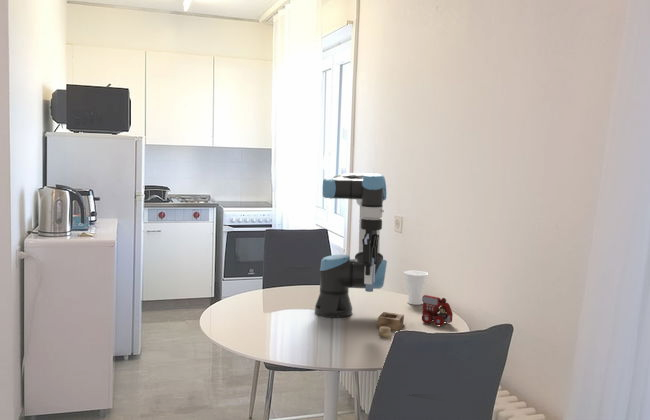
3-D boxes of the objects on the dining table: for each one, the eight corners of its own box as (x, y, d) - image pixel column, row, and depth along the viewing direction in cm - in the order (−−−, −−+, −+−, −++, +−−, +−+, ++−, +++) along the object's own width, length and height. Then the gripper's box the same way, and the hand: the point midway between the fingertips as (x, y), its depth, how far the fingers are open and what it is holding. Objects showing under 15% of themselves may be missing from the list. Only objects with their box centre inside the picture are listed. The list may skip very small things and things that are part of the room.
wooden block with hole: (377, 327, 212) (377, 317, 212) (383, 322, 220) (383, 312, 219) (398, 330, 210) (398, 320, 209) (403, 324, 217) (403, 314, 217)
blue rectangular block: (364, 291, 205) (365, 258, 204) (366, 289, 208) (367, 257, 207) (371, 292, 204) (373, 259, 203) (373, 290, 207) (375, 257, 206)
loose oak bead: (377, 337, 202) (378, 328, 202) (380, 333, 206) (381, 325, 205) (388, 338, 201) (389, 330, 200) (391, 335, 204) (391, 327, 204)
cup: (430, 302, 251) (432, 272, 250) (421, 307, 242) (422, 276, 241) (408, 298, 257) (410, 269, 255) (398, 303, 248) (400, 273, 247)
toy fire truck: (447, 328, 214) (448, 301, 213) (417, 322, 221) (418, 296, 220) (454, 324, 220) (456, 298, 219) (425, 318, 227) (426, 292, 226)
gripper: (375, 221, 195) (373, 288, 197) (387, 216, 209) (385, 279, 212) (354, 219, 197) (352, 286, 200) (368, 215, 212) (365, 277, 215)
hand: (369, 282), depth 206 cm, fingers closed on blue rectangular block, 3 cm apart
